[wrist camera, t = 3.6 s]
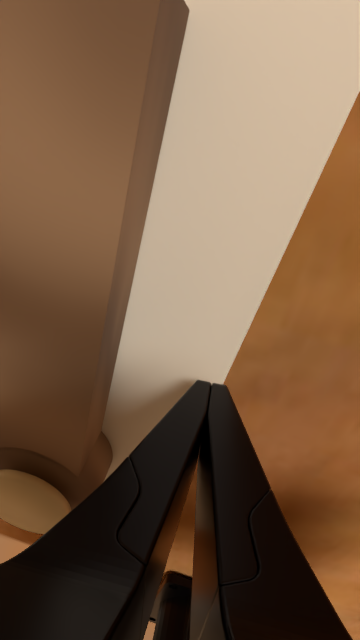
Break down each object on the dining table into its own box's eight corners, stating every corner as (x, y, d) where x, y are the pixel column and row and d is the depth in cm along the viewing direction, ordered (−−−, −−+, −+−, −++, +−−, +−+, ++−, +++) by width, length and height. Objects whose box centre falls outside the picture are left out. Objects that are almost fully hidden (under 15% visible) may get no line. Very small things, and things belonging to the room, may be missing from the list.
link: (104, 489, 15) (85, 536, 13) (12, 457, 15) (-19, 499, 13) (225, 21, 6) (215, -17, 4) (1, -50, 6) (-93, -114, 5)
